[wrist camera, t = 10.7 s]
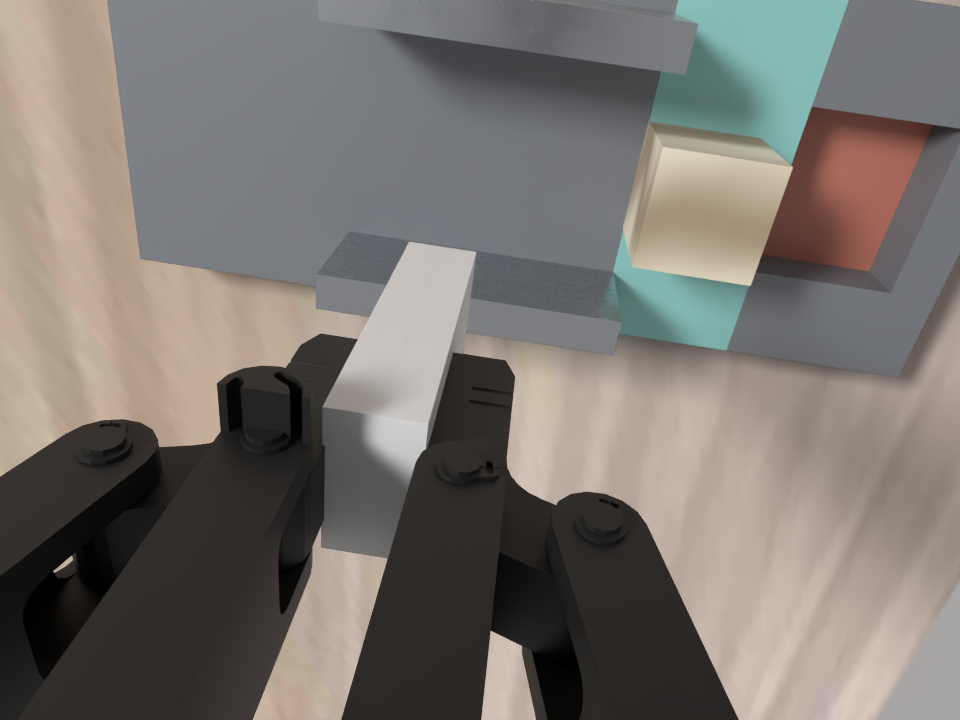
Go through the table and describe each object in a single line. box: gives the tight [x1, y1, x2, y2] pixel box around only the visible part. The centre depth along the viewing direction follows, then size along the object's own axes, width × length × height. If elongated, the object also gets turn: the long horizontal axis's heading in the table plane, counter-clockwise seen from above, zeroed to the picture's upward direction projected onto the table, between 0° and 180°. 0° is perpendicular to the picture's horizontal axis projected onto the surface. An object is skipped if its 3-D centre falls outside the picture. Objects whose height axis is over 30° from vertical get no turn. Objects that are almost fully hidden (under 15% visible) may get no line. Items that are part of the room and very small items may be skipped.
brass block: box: [623, 121, 793, 286], centre depth 27 cm, size 4×4×4 cm
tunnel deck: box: [107, 0, 960, 378], centre depth 28 cm, size 15×36×8 cm, turn 83°
